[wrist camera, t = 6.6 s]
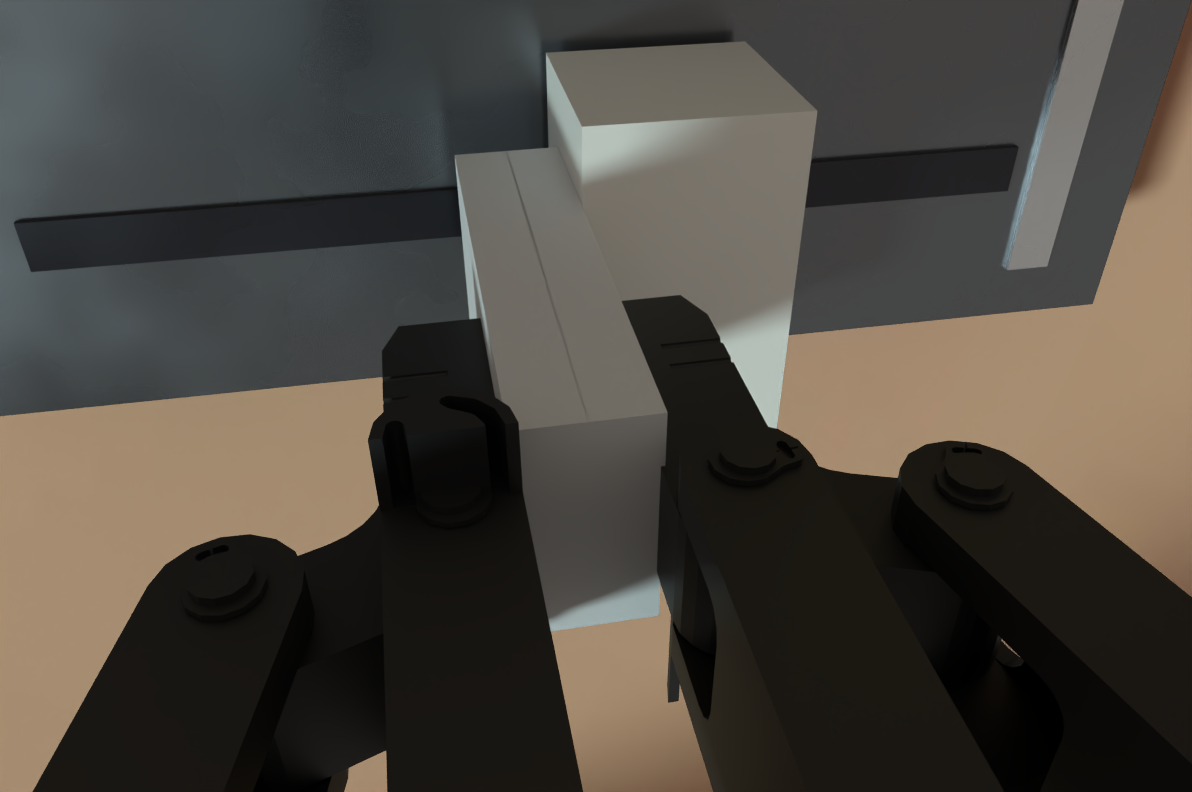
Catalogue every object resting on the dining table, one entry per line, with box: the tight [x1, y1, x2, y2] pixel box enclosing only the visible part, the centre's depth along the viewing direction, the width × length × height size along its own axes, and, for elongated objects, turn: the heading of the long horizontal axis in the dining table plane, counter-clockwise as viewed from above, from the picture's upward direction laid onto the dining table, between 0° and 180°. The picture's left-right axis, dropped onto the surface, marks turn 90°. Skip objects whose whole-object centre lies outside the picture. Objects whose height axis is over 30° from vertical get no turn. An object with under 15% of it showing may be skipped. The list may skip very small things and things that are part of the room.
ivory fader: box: [546, 41, 817, 428], centre depth 15 cm, size 3×5×3 cm, turn 179°
